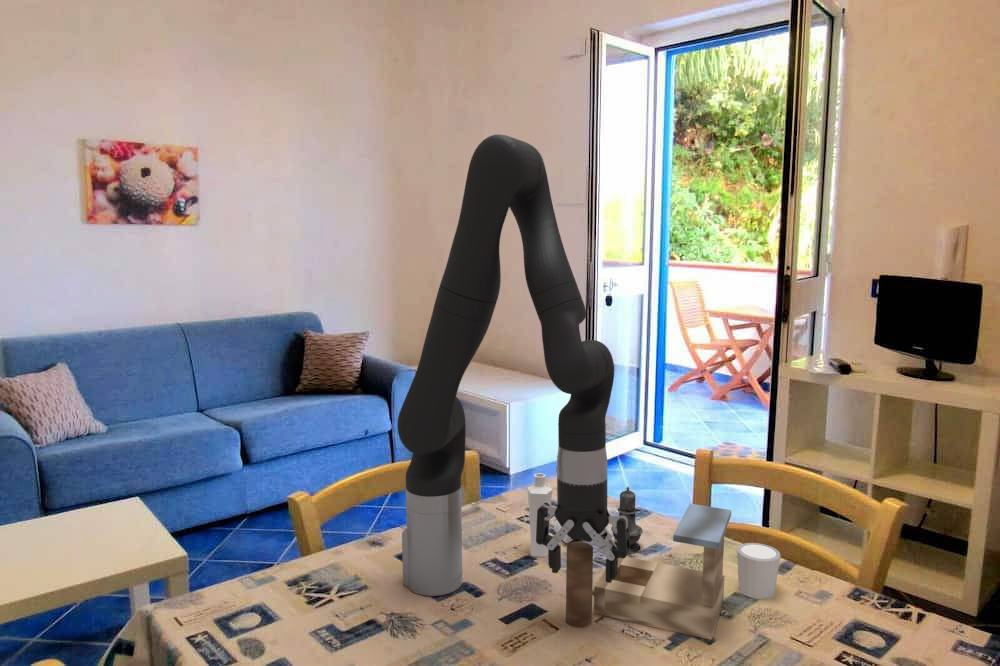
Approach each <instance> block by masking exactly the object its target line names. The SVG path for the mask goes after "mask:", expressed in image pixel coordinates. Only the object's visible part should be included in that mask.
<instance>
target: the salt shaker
mask: <svg viewBox="0 0 1000 666" xmlns="http://www.w3.org/2000/svg"><path fill="white" fill-rule="evenodd" d="M625 489H626V490H622V491H621V492H620V494H619V507H618V508H617V511H618V516H621V515H622V514H627V515H628V517H629V531H630V551H629V553H628V554H629V555H630V554H635V553H638V552H640V551H641V549H642V548H641V545H640V544H639V543H638V541H640V538H641V536H642V534H643V532H644V530H643V528H642V527H641V526H639V525H638V524H637V523H636V514H637V513H638V509H637V508H636V494H635V492H633V491H632V490H630V487H629V486H627V487H626V488H625ZM610 531H611V532H612V536H613V538H614V540H615V541H614V543H615V545H616V546H617V547H618V538H617V531H615V530H614V529H613V526H612V525H611V527H610ZM639 550H640V551H639ZM628 554H627V555H628Z"/></svg>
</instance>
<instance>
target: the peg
mask: <svg viewBox="0 0 1000 666" xmlns="http://www.w3.org/2000/svg"><path fill="white" fill-rule="evenodd" d="M565 563H566V568H565V569H566V571H565V574H566V577H565V585H566V586H565V587H566V588H565V593H566V594H565V623H567V625H569V626H571V627H573V628H577V629H578V628H579V629H580V628H582V629H583V628H587V627H589V626H590V625H591V624H592V621H593V582H594V580H593V575H594V573H593V572H594V571H593V570H594V546H593V545H592V544H590V542H587V541H573V542H572V541H571V542H569V543H567V545H566V562H565Z"/></svg>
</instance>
